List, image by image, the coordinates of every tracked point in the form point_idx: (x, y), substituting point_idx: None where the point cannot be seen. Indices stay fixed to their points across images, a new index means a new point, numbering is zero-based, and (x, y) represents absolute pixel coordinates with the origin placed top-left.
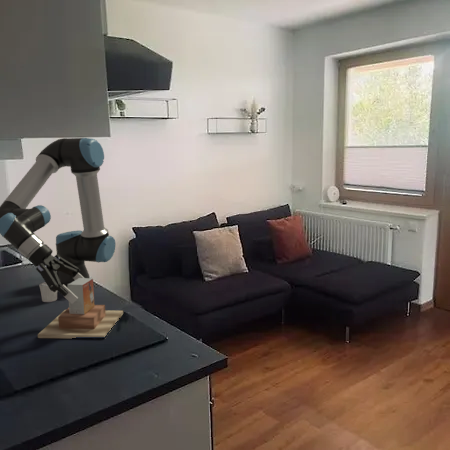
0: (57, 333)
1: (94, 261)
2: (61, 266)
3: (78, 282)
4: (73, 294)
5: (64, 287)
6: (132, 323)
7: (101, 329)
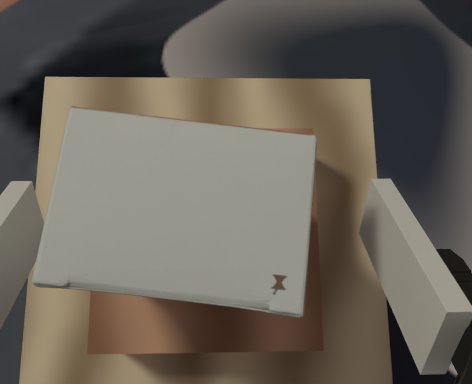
0: (371, 318)
1: None
2: None
3: (229, 211)
4: (402, 206)
5: (454, 288)
6: (181, 12)
7: (303, 112)
